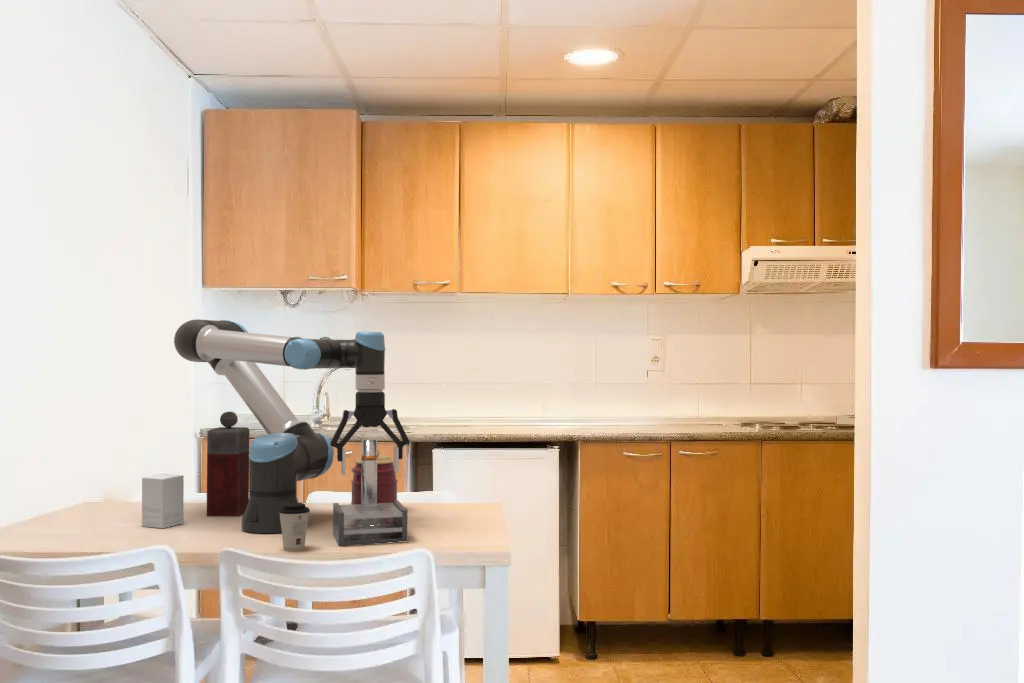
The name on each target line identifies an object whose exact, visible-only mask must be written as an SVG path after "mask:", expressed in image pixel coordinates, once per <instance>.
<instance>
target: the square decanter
mask: <svg viewBox="0 0 1024 683" xmlns="http://www.w3.org/2000/svg"><path fill="white" fill-rule="evenodd" d="M219 421H220V424H221V425H222V426H219V427H214V428H211V429H209V430H208V431H207V434H206V436H207V437H206V438H207V439H206V441H207V442H206V443H207V444H206V517H241V516H243V515H244V513H245V510H246V507H247V504H248V501H249V452H250V428H248V427H243V426H242V427H241V426H239V427H237V426H236V425H237V423H238V415H237V414H236V412H233V411H225V412H223V413H222V414H221V415H220V417H219Z"/></svg>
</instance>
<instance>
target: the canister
mask: <svg viewBox="0 0 1024 683" xmlns="http://www.w3.org/2000/svg"><path fill="white" fill-rule="evenodd" d="M353 462H354V463H355V465H354V467H352V468H351V472H352V480H351V481H350V483H351V501H350V504H361V476H362V460H361V455H360V456H359V457H358V458H356V459H355V460H354V461H353ZM398 481H399V480H398V479H397V473H395V472H394V458H392V457H391V456H390V455H385V454H380V450H379V449H378V448H377V503H393V501H395V500H398ZM377 511H380V510H377Z"/></svg>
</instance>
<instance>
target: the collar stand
mask: <svg viewBox="0 0 1024 683" xmlns="http://www.w3.org/2000/svg"><path fill="white" fill-rule="evenodd" d="M332 504H333V505H332V535H333V537H334V539H335V542H336V543H337V546H338V547H345V546H346V547H347V546H361V545H376V544H375V543H382V544H389V543H388V542H399V541H407V542H408V512H409V511H408V509H407V508H406V506H404V505H403V504H402V503H401V502H400V501H399V500H398V499H397V500H395V501H393V503H373V504H351V503H350V504H339V502H333V503H332ZM371 510H380V511H371ZM362 525H374V526H362ZM399 543H400V542H399Z"/></svg>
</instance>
